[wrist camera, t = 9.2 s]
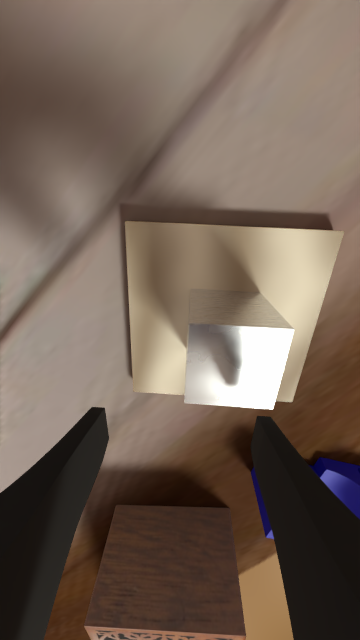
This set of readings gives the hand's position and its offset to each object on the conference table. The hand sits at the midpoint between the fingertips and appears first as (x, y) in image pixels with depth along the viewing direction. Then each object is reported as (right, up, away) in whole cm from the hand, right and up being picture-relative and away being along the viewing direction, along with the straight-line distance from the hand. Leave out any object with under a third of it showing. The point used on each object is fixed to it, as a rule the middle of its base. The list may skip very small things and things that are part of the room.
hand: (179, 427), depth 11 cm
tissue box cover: (0, -30, +24) cm, 38 cm away
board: (+3, +5, +8) cm, 10 cm away
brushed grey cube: (+3, +5, +7) cm, 9 cm away
